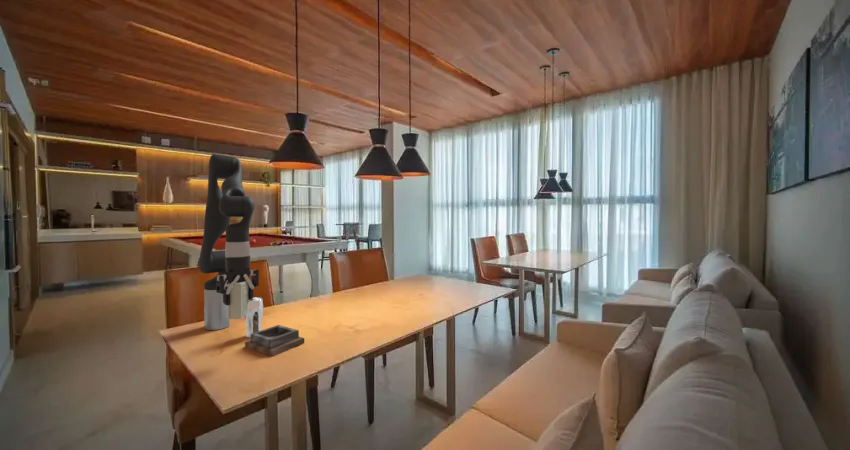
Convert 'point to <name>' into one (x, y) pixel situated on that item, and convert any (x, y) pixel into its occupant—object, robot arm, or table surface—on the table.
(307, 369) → the table surface
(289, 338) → the pocket stand
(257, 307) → the beer glass
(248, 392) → the table surface
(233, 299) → the skincare box
